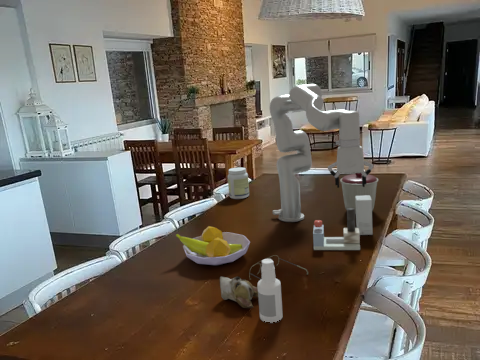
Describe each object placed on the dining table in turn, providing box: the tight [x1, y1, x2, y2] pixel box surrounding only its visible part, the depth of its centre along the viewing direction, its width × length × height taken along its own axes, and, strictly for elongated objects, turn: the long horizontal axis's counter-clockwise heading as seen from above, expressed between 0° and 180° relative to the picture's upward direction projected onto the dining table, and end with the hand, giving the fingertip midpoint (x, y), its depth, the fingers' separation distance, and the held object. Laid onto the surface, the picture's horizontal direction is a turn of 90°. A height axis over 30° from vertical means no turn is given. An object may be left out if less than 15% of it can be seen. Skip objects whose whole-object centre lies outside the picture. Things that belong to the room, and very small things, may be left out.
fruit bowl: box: [175, 225, 251, 266], centre depth 172 cm, size 28×27×11 cm
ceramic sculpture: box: [219, 276, 258, 309], centre depth 137 cm, size 11×9×15 cm
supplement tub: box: [227, 167, 250, 200], centre depth 256 cm, size 12×12×17 cm
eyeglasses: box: [248, 254, 309, 280], centre depth 152 cm, size 16×15×5 cm
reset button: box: [313, 219, 323, 227], centre depth 175 cm, size 3×3×2 cm
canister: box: [339, 173, 379, 215], centre depth 212 cm, size 18×18×21 cm
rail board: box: [312, 224, 361, 251], centre depth 175 cm, size 18×10×7 cm, turn 79°
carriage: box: [342, 208, 361, 244], centre depth 172 cm, size 6×6×14 cm
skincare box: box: [355, 195, 374, 236], centre depth 186 cm, size 8×7×16 cm
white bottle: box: [256, 258, 283, 324], centre depth 125 cm, size 7×7×18 cm
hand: (350, 186), depth 169 cm, fingers open, 9 cm apart
